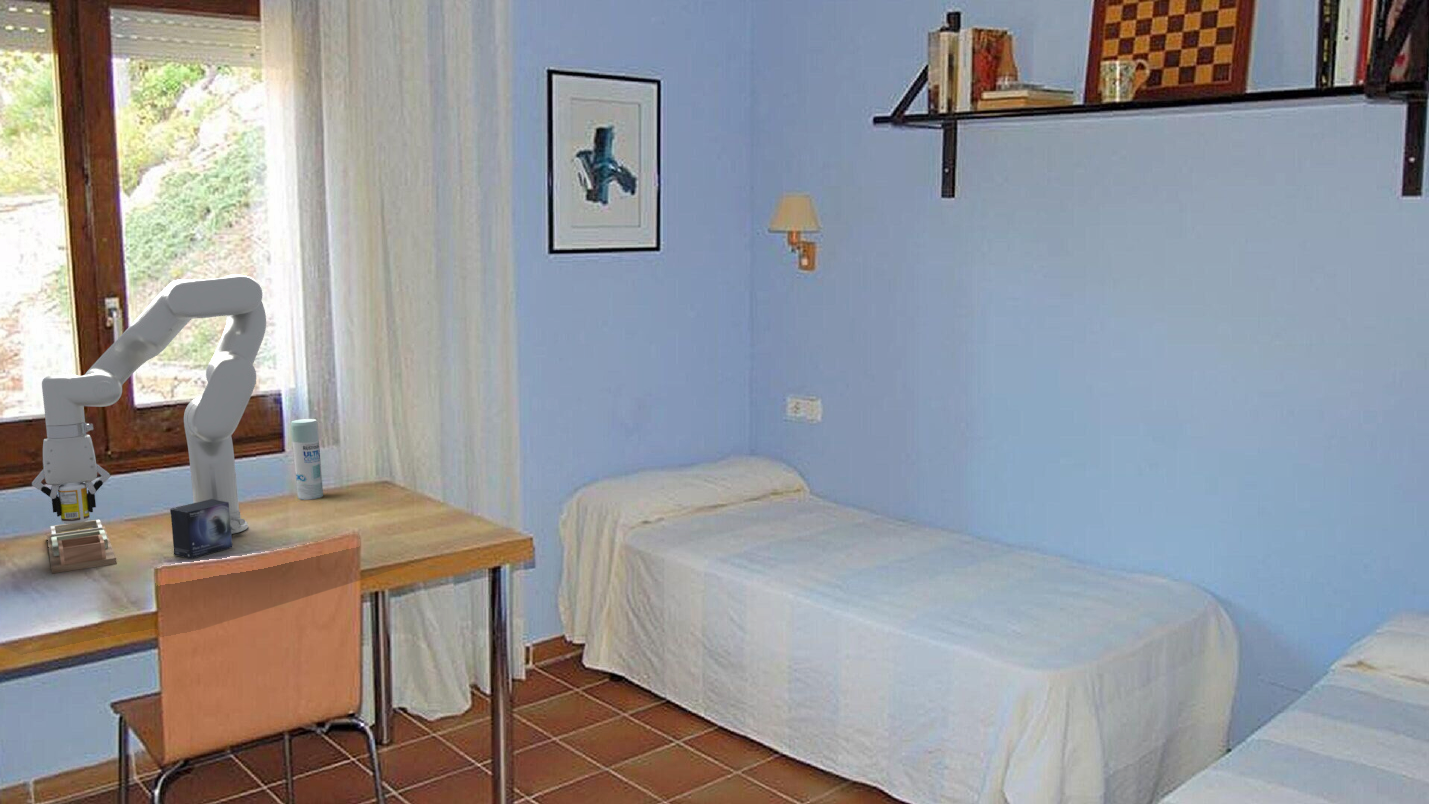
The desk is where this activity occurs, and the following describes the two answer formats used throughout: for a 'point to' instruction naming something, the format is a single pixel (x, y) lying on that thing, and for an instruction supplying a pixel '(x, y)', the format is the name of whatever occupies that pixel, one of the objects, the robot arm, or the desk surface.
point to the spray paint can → (307, 458)
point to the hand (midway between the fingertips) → (74, 512)
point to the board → (79, 546)
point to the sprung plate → (76, 530)
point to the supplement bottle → (73, 503)
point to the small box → (201, 528)
